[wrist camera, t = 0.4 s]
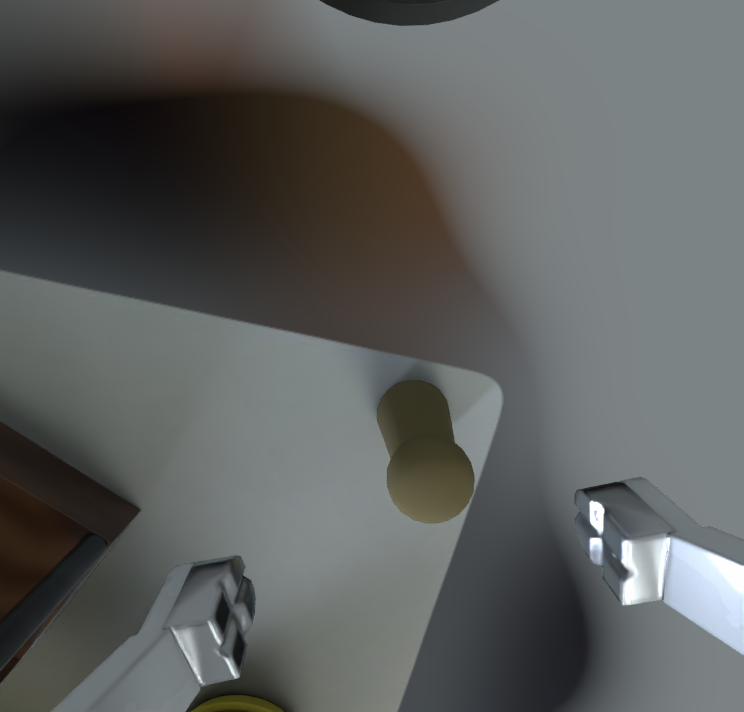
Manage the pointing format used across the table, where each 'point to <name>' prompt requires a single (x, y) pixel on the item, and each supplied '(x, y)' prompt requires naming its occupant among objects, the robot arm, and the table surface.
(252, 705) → the flowerpot
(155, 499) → the table surface
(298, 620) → the table surface
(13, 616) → the shelf
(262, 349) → the table surface
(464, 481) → the olive game pawn
